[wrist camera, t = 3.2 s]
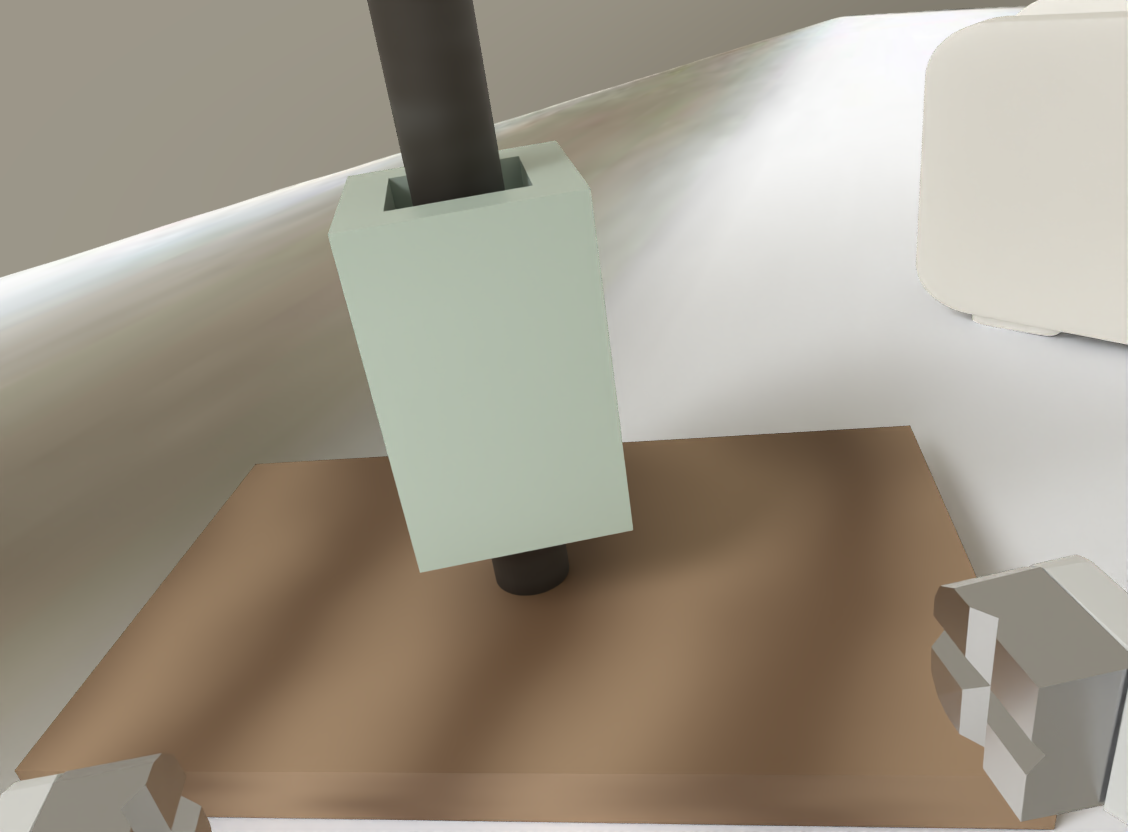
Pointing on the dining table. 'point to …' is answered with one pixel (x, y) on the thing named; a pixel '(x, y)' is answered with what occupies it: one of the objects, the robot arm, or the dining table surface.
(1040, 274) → the cable organizer
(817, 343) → the dining table surface
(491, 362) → the sleeve
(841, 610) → the stand
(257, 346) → the dining table surface
